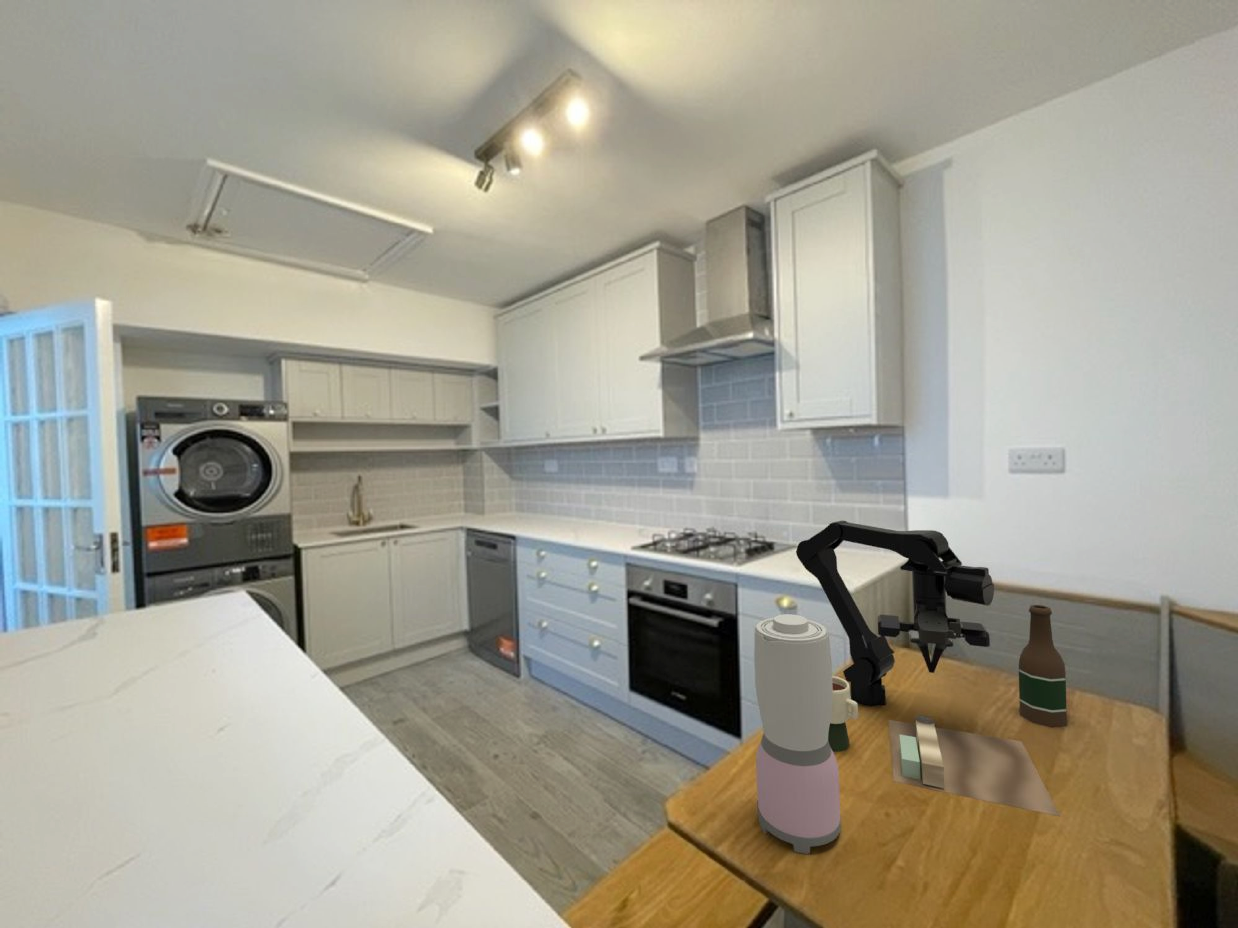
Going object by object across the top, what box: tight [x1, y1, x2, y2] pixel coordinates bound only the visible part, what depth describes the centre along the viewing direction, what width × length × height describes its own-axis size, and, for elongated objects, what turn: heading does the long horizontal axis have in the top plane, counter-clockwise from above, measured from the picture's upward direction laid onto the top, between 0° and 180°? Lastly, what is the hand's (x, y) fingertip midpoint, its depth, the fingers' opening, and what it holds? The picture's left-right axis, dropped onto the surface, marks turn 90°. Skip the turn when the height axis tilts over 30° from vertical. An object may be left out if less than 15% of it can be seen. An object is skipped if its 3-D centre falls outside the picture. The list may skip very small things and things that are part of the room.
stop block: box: [899, 734, 920, 780], centre depth 90 cm, size 3×8×3 cm, turn 154°
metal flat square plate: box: [887, 719, 1061, 817], centre depth 91 cm, size 22×21×2 cm
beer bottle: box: [1018, 604, 1068, 729], centre depth 103 cm, size 8×8×24 cm
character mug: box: [828, 675, 859, 753], centre depth 98 cm, size 11×7×13 cm, turn 35°
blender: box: [753, 613, 842, 855], centre depth 80 cm, size 16×12×32 cm
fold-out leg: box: [914, 715, 944, 788], centre depth 91 cm, size 17×3×4 cm, turn 154°
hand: (931, 671), depth 102 cm, fingers closed
